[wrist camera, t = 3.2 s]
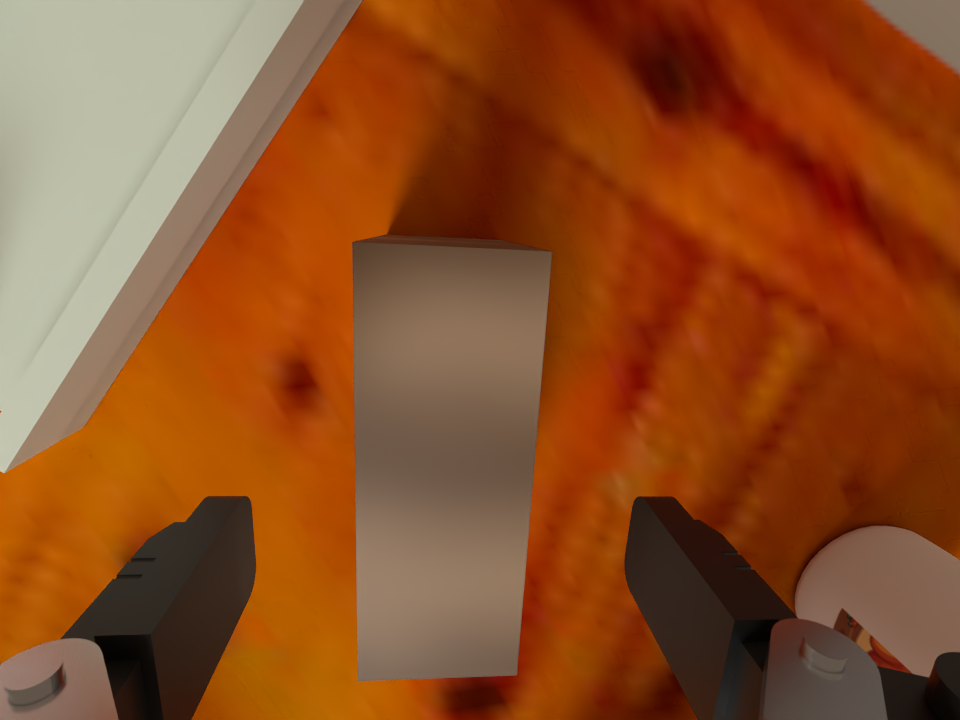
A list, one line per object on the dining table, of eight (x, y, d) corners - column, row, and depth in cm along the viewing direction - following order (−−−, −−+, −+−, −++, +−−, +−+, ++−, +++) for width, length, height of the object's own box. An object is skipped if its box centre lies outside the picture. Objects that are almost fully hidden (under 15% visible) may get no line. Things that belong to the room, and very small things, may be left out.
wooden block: (485, 508, 23) (516, 675, 15) (381, 508, 23) (350, 681, 14) (501, 240, 20) (552, 251, 12) (381, 234, 20) (343, 241, 11)
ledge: (83, 426, 21) (-104, 535, 13) (-153, 292, 19) (-523, 335, 11) (369, -11, 18) (326, -172, 10) (124, -228, 16) (-140, -615, 8)
